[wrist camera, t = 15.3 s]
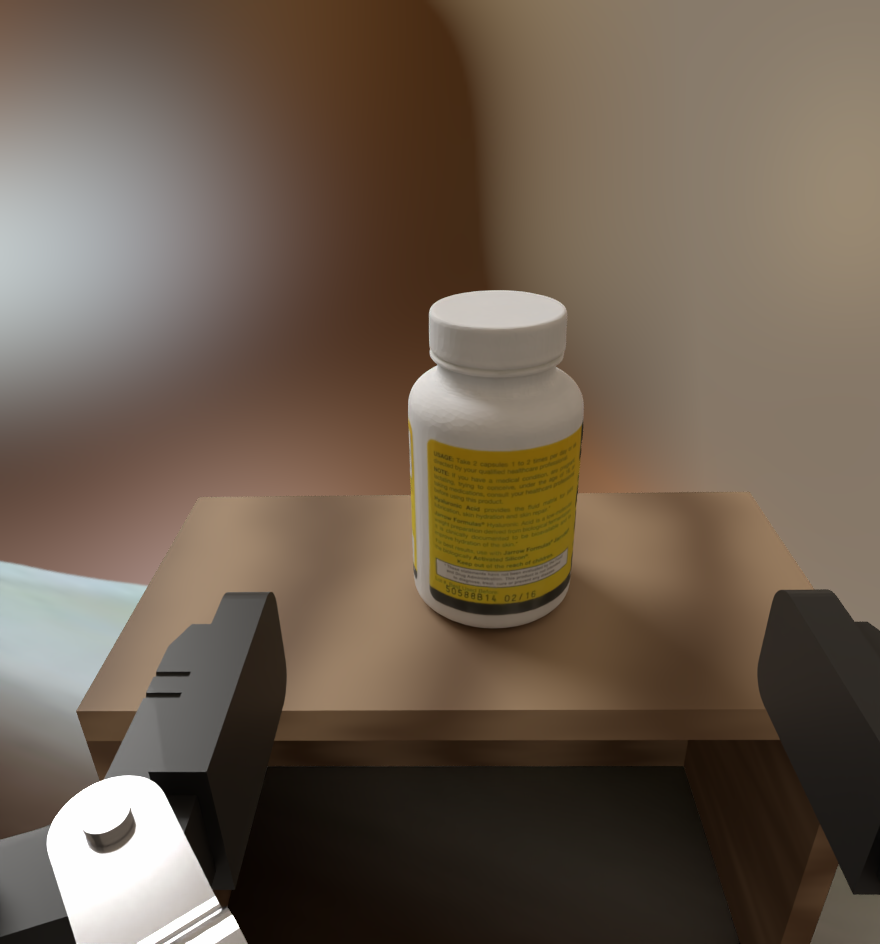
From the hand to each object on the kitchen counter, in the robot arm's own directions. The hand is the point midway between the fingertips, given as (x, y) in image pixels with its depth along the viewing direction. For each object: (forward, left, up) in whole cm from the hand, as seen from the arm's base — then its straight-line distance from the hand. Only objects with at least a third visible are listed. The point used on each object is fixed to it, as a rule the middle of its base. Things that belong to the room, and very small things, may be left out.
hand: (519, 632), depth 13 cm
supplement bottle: (0, +12, -8) cm, 14 cm away
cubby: (0, +12, -23) cm, 26 cm away
